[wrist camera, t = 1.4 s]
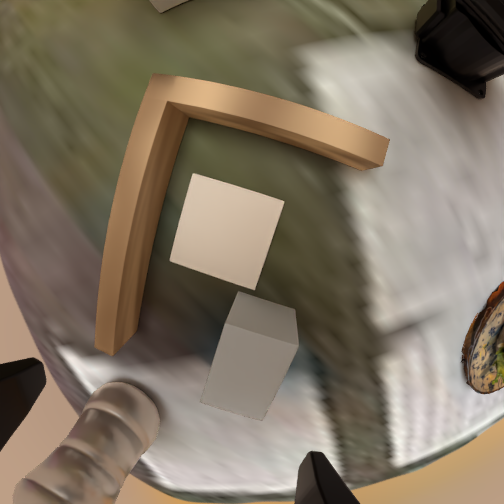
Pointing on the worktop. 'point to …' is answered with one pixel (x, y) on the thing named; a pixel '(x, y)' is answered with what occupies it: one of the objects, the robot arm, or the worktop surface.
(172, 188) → the worktop surface
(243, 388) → the block
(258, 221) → the pad
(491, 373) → the burger
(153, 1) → the small box
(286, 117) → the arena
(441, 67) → the robot arm
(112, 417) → the plastic bottle
